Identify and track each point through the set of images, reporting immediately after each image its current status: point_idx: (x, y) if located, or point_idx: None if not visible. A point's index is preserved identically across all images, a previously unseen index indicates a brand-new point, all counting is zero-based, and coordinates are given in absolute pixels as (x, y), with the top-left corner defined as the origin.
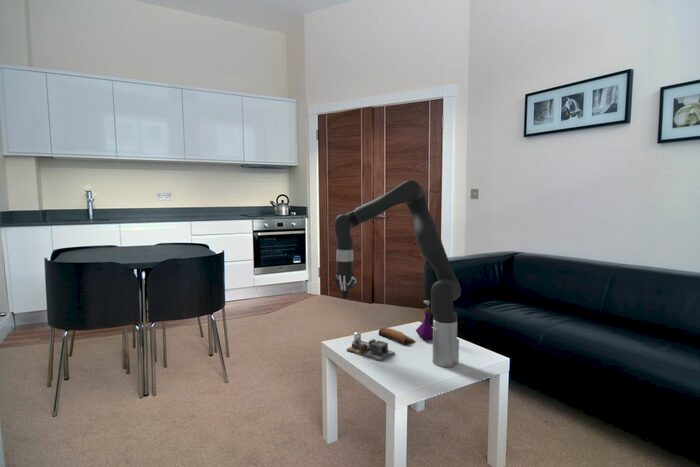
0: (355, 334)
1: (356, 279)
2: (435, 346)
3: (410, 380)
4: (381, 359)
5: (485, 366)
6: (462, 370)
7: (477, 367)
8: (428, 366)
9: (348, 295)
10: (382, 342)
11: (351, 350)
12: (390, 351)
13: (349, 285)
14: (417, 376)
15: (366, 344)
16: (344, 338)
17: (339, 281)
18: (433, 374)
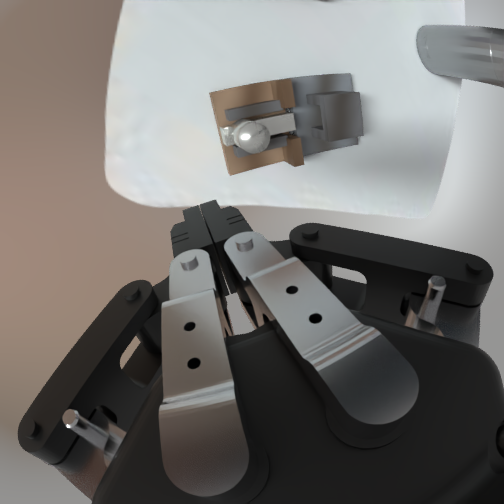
0: (257, 151)
1: (485, 287)
2: (463, 75)
3: (429, 168)
4: (357, 142)
5: None
6: None
7: None
8: (425, 87)
9: (241, 214)
10: (346, 101)
11: (251, 168)
12: (341, 80)
13: (360, 310)
14: (431, 144)
15: (286, 124)
16: (110, 111)
17: (117, 381)
18: (442, 116)
